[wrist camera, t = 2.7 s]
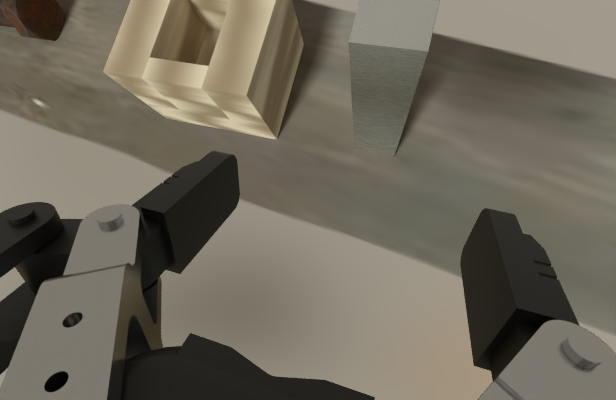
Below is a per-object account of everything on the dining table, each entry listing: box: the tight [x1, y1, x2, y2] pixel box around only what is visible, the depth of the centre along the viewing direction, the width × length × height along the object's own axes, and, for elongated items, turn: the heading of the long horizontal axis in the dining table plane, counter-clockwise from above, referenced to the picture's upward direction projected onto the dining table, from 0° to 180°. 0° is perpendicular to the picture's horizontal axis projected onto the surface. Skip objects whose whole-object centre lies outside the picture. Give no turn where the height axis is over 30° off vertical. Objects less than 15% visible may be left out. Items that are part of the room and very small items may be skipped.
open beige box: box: [103, 0, 304, 140], centre depth 27 cm, size 12×10×8 cm
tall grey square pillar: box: [349, 0, 440, 157], centre depth 21 cm, size 4×5×14 cm
